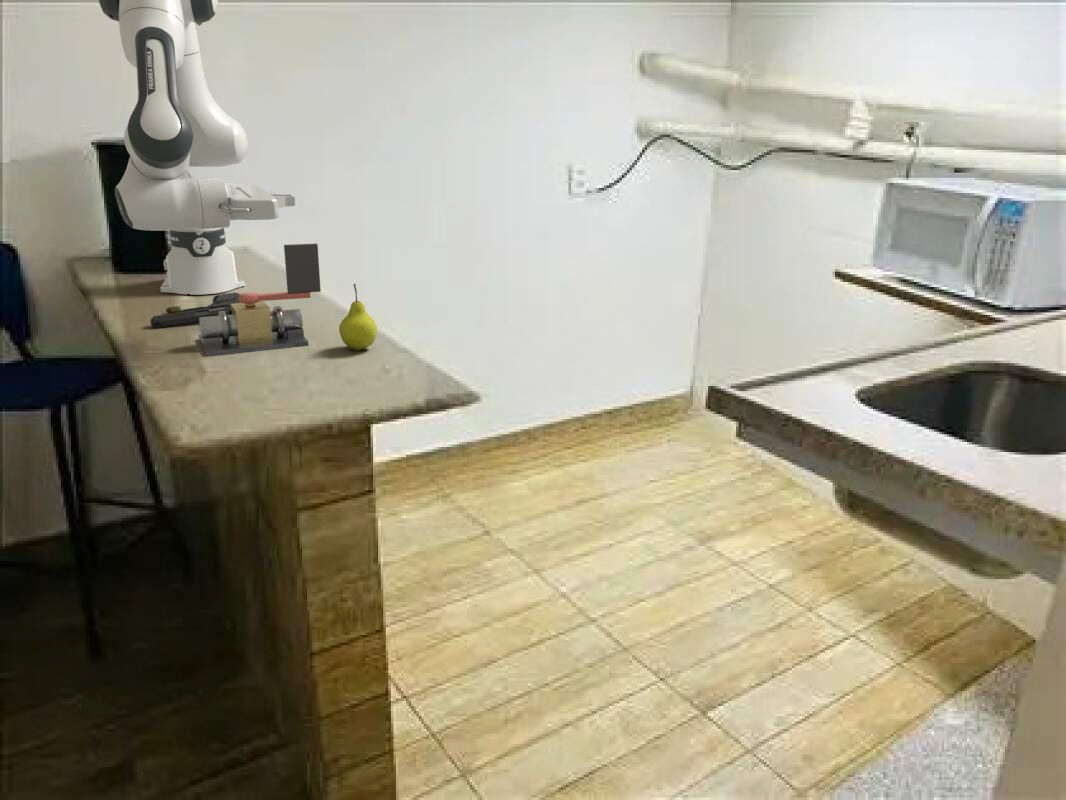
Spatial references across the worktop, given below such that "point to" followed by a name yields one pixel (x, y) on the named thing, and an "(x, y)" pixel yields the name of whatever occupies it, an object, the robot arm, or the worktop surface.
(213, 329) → the valve
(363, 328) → the fruit
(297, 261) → the lever
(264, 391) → the worktop surface
